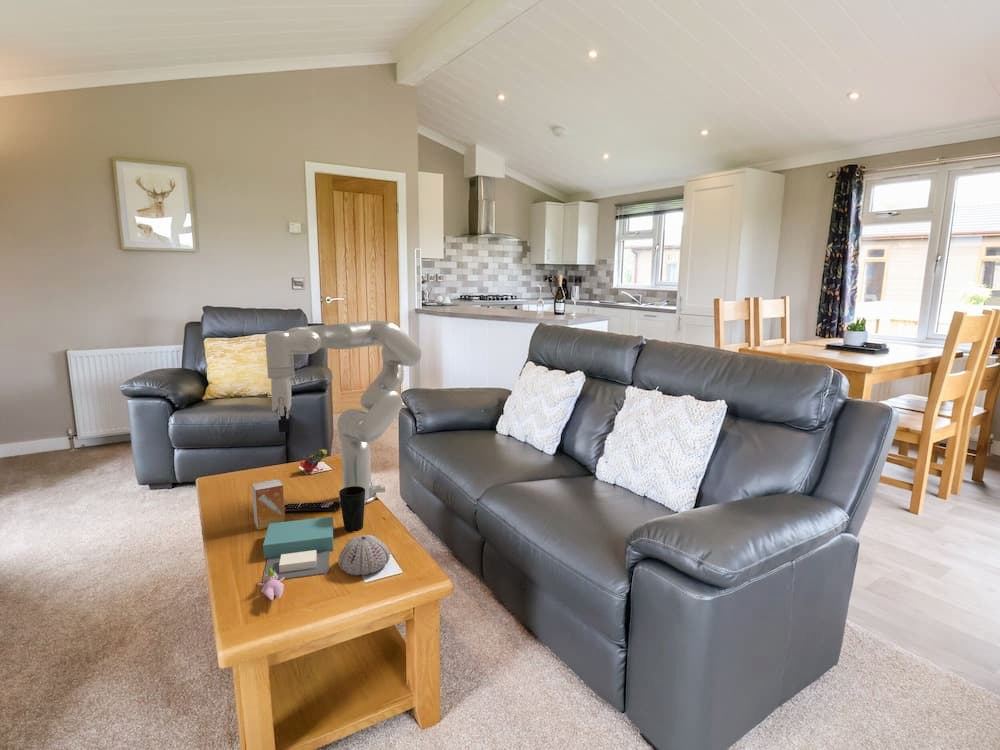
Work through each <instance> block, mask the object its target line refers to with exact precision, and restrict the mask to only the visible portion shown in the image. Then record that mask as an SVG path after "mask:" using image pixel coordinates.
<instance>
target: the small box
mask: <svg viewBox="0 0 1000 750" xmlns="http://www.w3.org/2000/svg"><path fill="white" fill-rule="evenodd" d="M282 483H283V482H282V481H281V480H280V479H279V478H278V479H273V480H266V481H262V482H261V481H260V482H256V483H252V484H251V493H252V508H253V509H252V511H253V521H254V524H255V527H256V529H257V530H258V531H260V530H264V529H268V526H269V523H278V522H286V517H285V516H286V515H285V511H286V510H285V498H284V497H285V496H284V485H283V484H282Z"/></svg>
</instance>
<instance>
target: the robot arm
mask: <svg viewBox="0 0 1000 750" xmlns="http://www.w3.org/2000/svg"><path fill="white" fill-rule="evenodd" d="M264 340H265V341H264V343H265V354H266V367H267V368H266V369H267V370H266V371H267V379H269V380H271V385H270V387H271V389H270V390H271V391H270V392H271V411H272V412H276V411H277V415H278V421H277V422H278V433H288V432H291V417H290V409H291V407H292V381H291V380H292V378H295V376H296V375H295V362H294V358H295V357H294V355H312V354H314V353H316V352H318V350H320V349H333V350H351V349H357V348H364V347H365V348H366V347H373V346H375V347H376V346H380V347H381V357H382V368H381V371H380V373H379V374H378V375H377V377H376V378H375V379H374V380H373V382H372V383H371V384H370V385H369V386H368V387H367V388H366V390H365V391H363V393H362V395H361V397H360V400H359V401H360V406H361V407H362V408H363V410H365V411H363V410H361V409H356V408H349V409H346V410H344V411H343V412H341V414H340V415H339V417H338V419H337V432H338V436H339V440H340V441H339V442H340V450H341V453H340V454H341V471H342V489H343V488H346V487H351V486H359V487H363V488H364V489H365V503H364V505H366V503H367V504H369V503H371V502H373V501H375V500H376V498H377V493H385V492H386V487H385V486H382V485H381V484H379V485H374V484H373V481H372V468H371V467H372V464H371V446H370V444H371V443H374V442H376V441H377V440H378V439H380V437H382V436H383V434H384V433H385V432H386V430H387V429H388V428H390V425H391V424H392V423H393V422H394V420H395V419H396V418H397V417H398V415H399V413H400V412H401V410H402V406H403V399H402V396H401V395H400V393H399V392H397V391H398V390H399V389H400V387H401V385H402V384H403V382H404V378H405V376H404V374H405V370H404V367H413V366H415V365H418V363H419V362H420V361H421V359H422V350H421V348H420V346H419V344H418V343H417V342H416V341H415V340H413V339H412V338H411V337H410V335H408V334H407V333H406V332H405V331H404V330H402V329H401V328H400V327H399V326H398V325H396V324H395V323H393V322H392V321H387V320H386V321H385V320H365V321H364V320H363V321H356V322H353V321H352V322H345V323H343V322H342V323H332V324H322V325H320V324H319V325H309V326H307V325H306V326H297V327H291V328H289V329H287V330H285V331H284V330H274V331H269V332H267V333H266V334H265V338H264ZM373 494H374V495H375V496H376V497H374V495H373ZM338 501H339V502H340V495H339V496H338Z"/></svg>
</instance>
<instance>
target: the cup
mask: <svg viewBox="0 0 1000 750" xmlns="http://www.w3.org/2000/svg"><path fill="white" fill-rule="evenodd" d="M338 493H339V494H338V495H339V496H340V501H339V503H340V507H341V514H342V519H343V520H342V521H343V527H344V531H345V530H346V531H345V532H348V531H350V532H349V533H353V532H352V531H356V532H359V531H361V530H363V528H364V517H365V504H364V503H365V489H364V488H363V487H359V486H351V487H346V488H343V487H342V488H341V489H340V490H339V491H338ZM358 530H359V531H358Z"/></svg>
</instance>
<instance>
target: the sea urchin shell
mask: <svg viewBox="0 0 1000 750" xmlns="http://www.w3.org/2000/svg"><path fill="white" fill-rule="evenodd" d="M390 557H391V556H390V551H389V548H388V546H387V545H386V544H385V543H384V542H383V541H382V540H381V539H380V538H378V536H374V535H371V534H363V535H357V536H355V537H352V538H351V539H349V541H348V542H347V543H346V544H345V546H344V547H343V548H342V549H341V551H340V552H339V556H338V558H337V559H338V562H337V563H338V567H340V570H342V571H343V572H345V573H346V574H347V575H348V574H349V575H350V576H351V575H352V576H360V575H362V576H364V575H366V576H367V575H368V574H373V573H376V572H377V571H381V569H383V568H384V566H386V565H387V564H388V563H389V561H390Z"/></svg>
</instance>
